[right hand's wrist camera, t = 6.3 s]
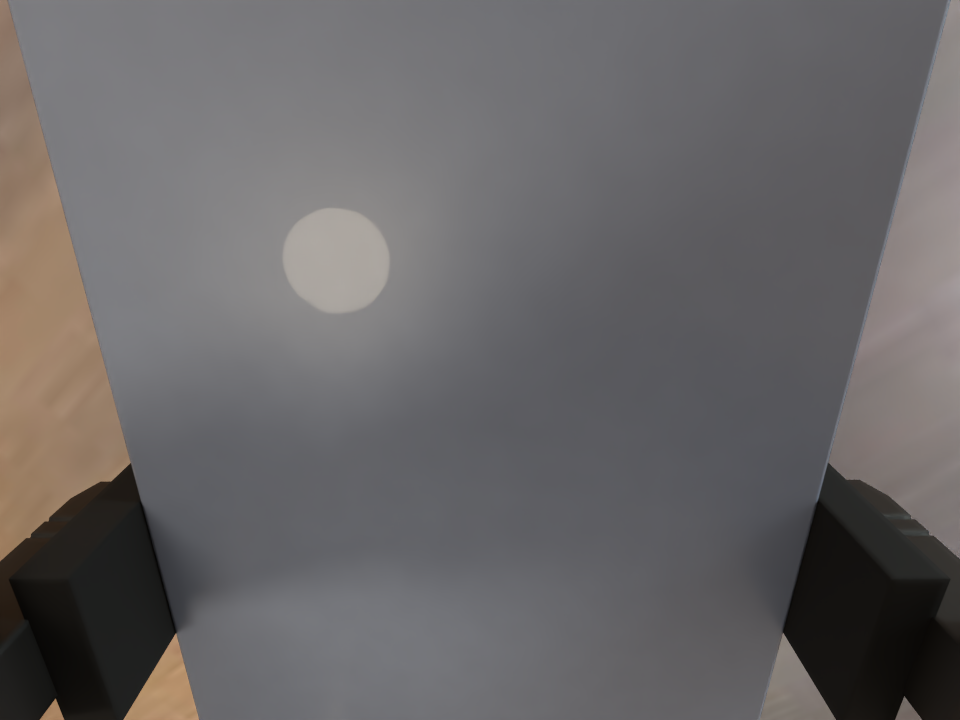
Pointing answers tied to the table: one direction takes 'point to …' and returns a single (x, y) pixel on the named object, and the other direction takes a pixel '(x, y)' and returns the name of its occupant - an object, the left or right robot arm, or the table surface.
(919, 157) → the table surface
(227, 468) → the cabinet
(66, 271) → the table surface
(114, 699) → the right robot arm
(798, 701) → the table surface
